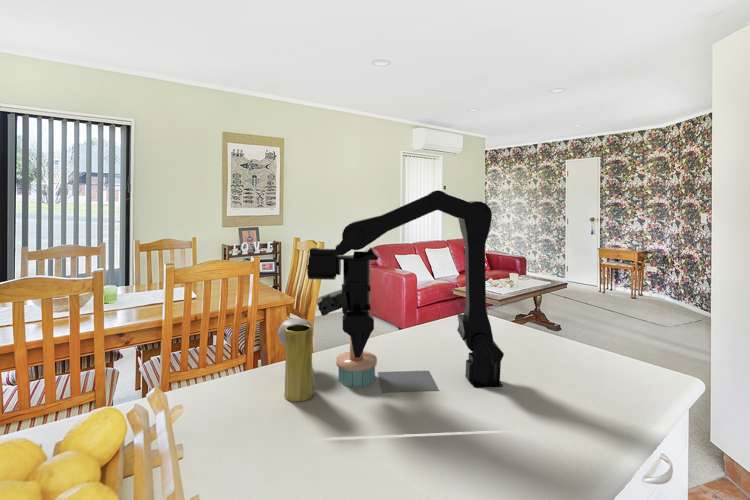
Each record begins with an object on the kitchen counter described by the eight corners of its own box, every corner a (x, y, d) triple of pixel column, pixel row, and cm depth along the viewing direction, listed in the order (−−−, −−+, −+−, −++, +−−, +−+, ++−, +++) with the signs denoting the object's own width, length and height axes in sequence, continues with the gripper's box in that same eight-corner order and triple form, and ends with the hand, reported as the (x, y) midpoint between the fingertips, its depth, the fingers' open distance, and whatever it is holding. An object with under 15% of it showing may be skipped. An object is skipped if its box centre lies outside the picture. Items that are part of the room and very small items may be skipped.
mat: (428, 372, 94) (428, 370, 94) (439, 392, 84) (439, 390, 84) (377, 373, 93) (377, 372, 93) (382, 394, 83) (382, 392, 83)
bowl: (373, 372, 94) (373, 355, 93) (376, 387, 86) (376, 369, 86) (338, 373, 93) (338, 356, 93) (338, 389, 85) (338, 371, 85)
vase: (308, 403, 79) (307, 333, 77) (279, 400, 80) (277, 331, 79) (318, 389, 85) (317, 324, 83) (291, 386, 86) (290, 322, 85)
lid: (375, 354, 94) (375, 331, 93) (378, 370, 85) (378, 345, 84) (336, 355, 93) (336, 332, 93) (336, 372, 84) (335, 346, 84)
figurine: (288, 361, 100) (287, 314, 99) (317, 363, 99) (316, 316, 97) (274, 374, 92) (272, 323, 91) (305, 377, 91) (304, 326, 89)
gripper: (321, 272, 95) (321, 336, 97) (316, 289, 77) (317, 367, 79) (367, 272, 96) (367, 335, 98) (374, 289, 78) (373, 366, 80)
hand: (356, 349), depth 89 cm, fingers open, 9 cm apart
